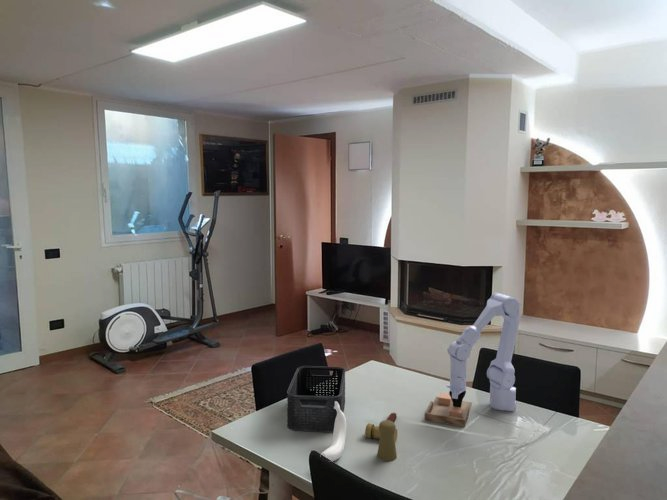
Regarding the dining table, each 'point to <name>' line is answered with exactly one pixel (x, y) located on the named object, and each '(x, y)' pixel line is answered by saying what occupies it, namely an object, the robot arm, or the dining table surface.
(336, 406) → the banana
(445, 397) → the tile outer
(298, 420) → the storage bin
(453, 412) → the tile inner
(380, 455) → the cork
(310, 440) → the dining table surface
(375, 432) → the gavel
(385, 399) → the dining table surface
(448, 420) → the wooden tray
